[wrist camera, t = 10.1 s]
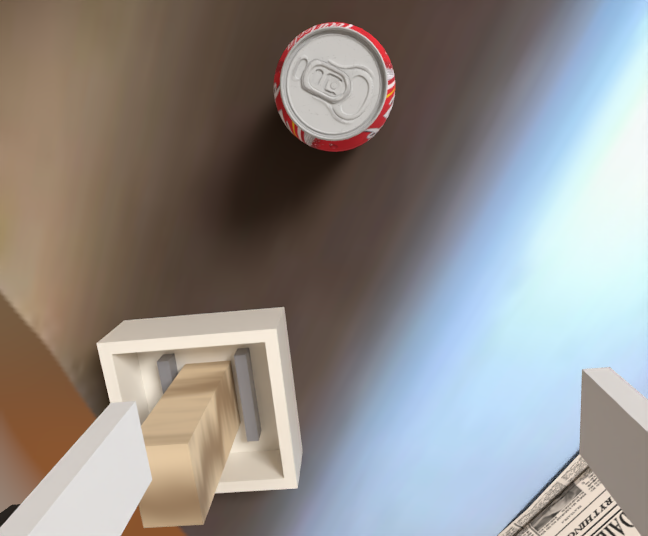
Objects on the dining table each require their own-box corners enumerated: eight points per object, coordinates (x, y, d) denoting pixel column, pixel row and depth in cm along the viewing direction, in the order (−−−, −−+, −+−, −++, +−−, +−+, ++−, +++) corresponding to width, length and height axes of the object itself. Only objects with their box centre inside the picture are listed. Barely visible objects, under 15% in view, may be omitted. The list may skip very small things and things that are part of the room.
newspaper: (609, 408, 44) (627, 425, 42) (695, 474, 47) (716, 493, 44) (440, 570, 49) (448, 594, 46) (527, 621, 51) (538, 646, 49)
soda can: (357, 165, 39) (363, 175, 27) (275, 125, 38) (246, 118, 27) (399, 78, 37) (424, 50, 26) (314, 35, 37) (300, -14, 25)
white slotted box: (124, 320, 43) (96, 343, 38) (284, 306, 42) (276, 328, 37) (154, 460, 46) (132, 498, 41) (302, 451, 45) (297, 488, 41)
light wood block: (185, 363, 43) (125, 447, 31) (230, 360, 42) (187, 443, 31) (196, 425, 44) (143, 527, 32) (240, 422, 44) (203, 524, 32)
